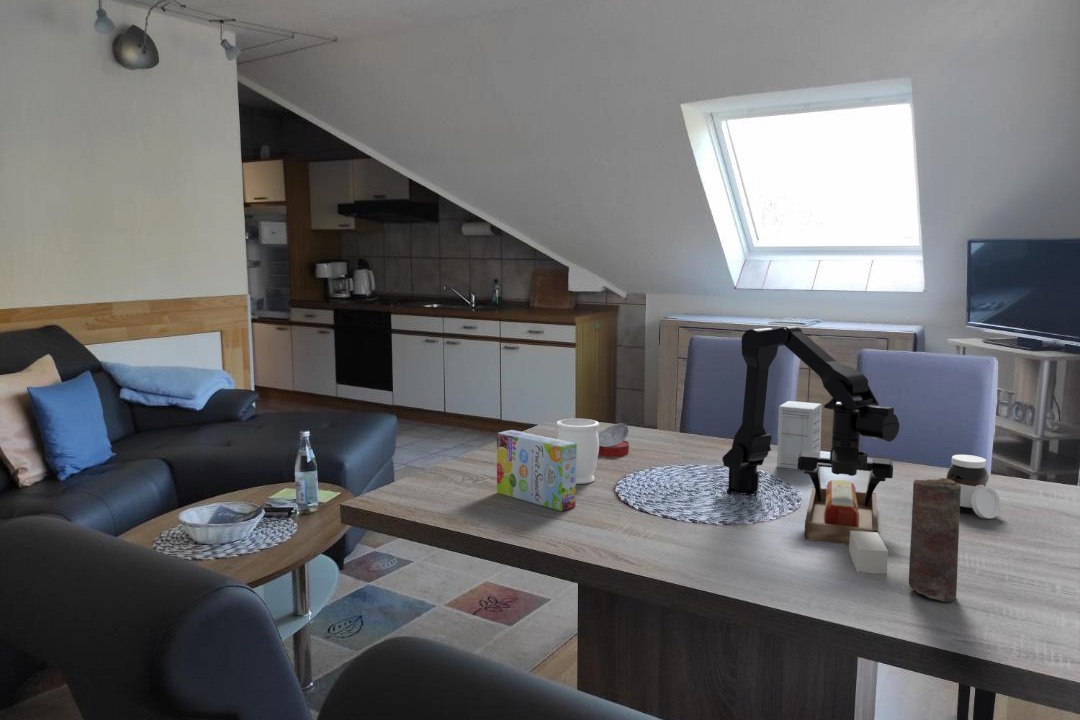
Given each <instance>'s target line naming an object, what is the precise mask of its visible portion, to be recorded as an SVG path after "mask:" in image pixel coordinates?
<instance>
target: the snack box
mask: <svg viewBox="0 0 1080 720" xmlns="http://www.w3.org/2000/svg"><path fill="white" fill-rule="evenodd" d="M576 450H577V443H574V442H569V441H564V440H559V439H557V438H553V437H548V436H543V435H540V434H539V435H538V434H534V433H529V432H523V431H521V430H520V431H519V430H514V429H510V430H509V429H508V430H504V431H501V432H500V431H499V432H497V433H496V493H497V494H500V495H504V496H507V497H510V498H514V499H518V500H521V501H524V502H528V503H531V504H535V505H538V506H542V507H545V508H548V509H552V510H555V511H559V512H563V511H566V510H567V511H568V510H571V509H574V508H575V507H576V502H577V501H576V496H577V493H576V492H577V490H576V489H577V484H576Z"/></svg>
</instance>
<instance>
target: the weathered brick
mask: <svg viewBox="0 0 1080 720" xmlns="http://www.w3.org/2000/svg"><path fill="white" fill-rule="evenodd" d="M912 486H913V487H912V505H911V506H912V509H911V510H912V511H911V513H912V514H911V529H910V531H911V532H910V547H909V550H910V551H909V562H908V563H909V567H908V570H909V571H908V586H909V588H910V589H911V590H913V591H916V592H917V593H918V594H920V595H923V596H925V597H927V598H929V599H933V600H936V601H940V602H941V603H951V602H953V601H954V600H955V599H956V598H957V589H958V585H957V584H958V564H959V563H958V561H959V560H958V559H959V539H960V538H959V536H960V535H959V534H960V518H961V517H960V514H961V512H960V495H961V485H960V484H958V483H955V481H952V480H950V479H946V477H940V478H937V479H914V480H913V483H912Z"/></svg>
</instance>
